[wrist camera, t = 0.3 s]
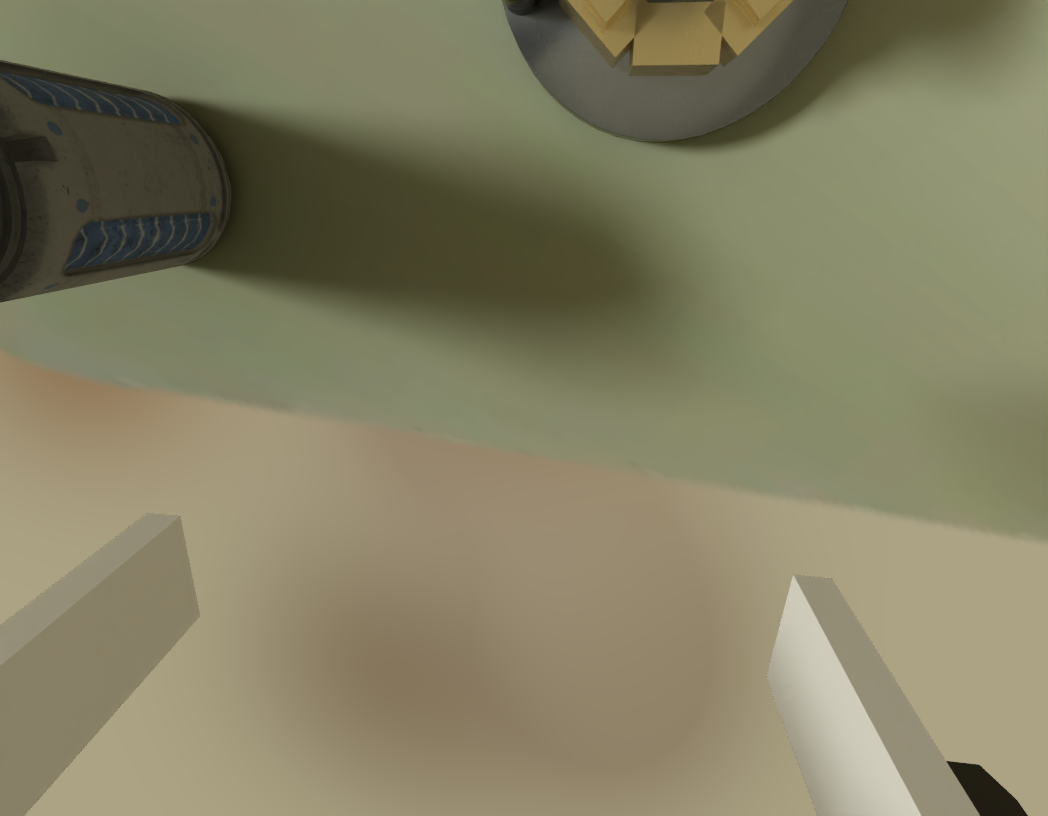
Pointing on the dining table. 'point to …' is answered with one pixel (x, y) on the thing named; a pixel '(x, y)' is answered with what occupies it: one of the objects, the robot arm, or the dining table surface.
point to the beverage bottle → (100, 183)
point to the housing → (666, 100)
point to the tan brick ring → (671, 32)
